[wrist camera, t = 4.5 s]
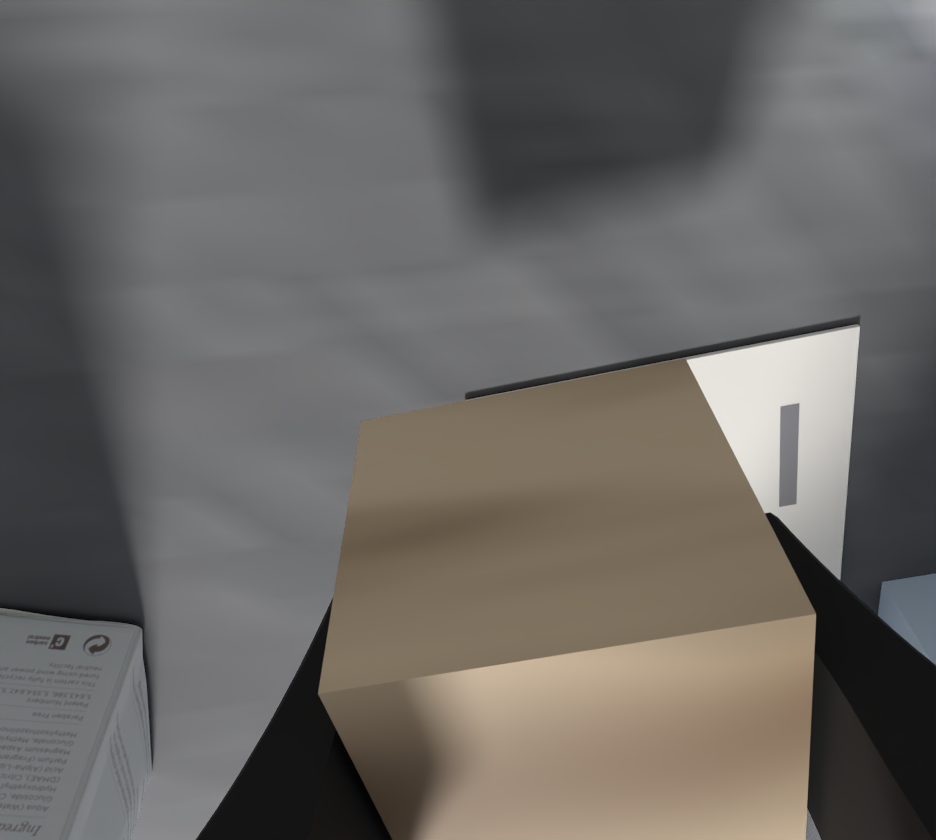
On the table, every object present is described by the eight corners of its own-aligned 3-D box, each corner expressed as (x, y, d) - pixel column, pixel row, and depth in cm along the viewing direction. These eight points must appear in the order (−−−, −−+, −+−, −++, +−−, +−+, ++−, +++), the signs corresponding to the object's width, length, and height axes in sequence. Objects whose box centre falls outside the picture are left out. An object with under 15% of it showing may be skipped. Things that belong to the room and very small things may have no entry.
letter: (832, 662, 24) (833, 666, 24) (543, 706, 25) (544, 710, 25) (857, 323, 18) (860, 326, 18) (464, 400, 19) (465, 403, 18)
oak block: (701, 589, 14) (803, 870, 10) (436, 633, 15) (433, 919, 11) (685, 358, 12) (816, 614, 8) (361, 421, 12) (317, 694, 8)
